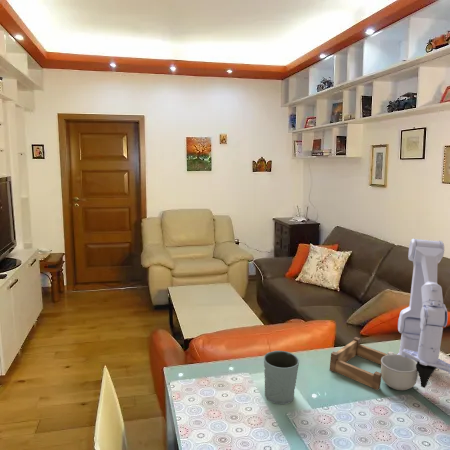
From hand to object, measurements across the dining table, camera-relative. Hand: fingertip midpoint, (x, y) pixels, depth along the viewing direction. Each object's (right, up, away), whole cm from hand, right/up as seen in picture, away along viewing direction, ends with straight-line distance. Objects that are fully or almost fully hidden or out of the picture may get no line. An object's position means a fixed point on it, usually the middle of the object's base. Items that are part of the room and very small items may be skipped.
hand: (423, 386), depth 131 cm
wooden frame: (-13, 0, +12) cm, 18 cm away
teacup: (-6, -1, +6) cm, 9 cm away
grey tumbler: (-45, -2, -4) cm, 45 cm away
